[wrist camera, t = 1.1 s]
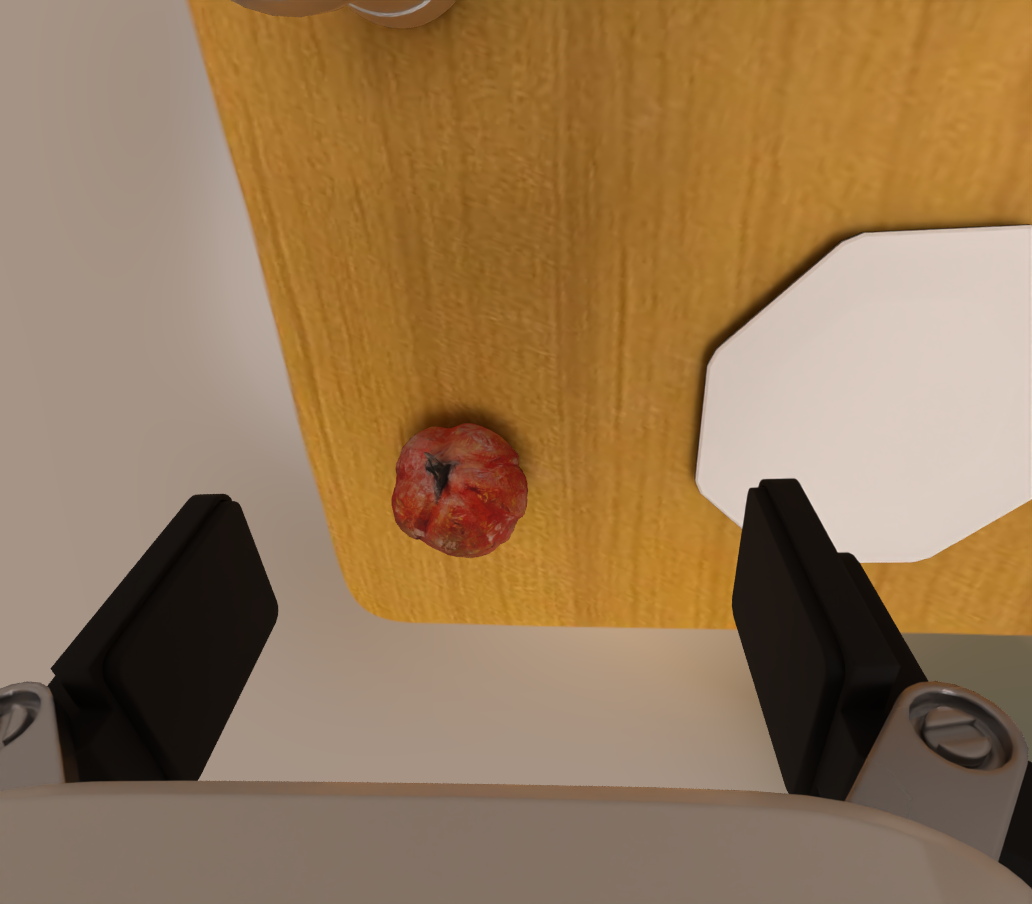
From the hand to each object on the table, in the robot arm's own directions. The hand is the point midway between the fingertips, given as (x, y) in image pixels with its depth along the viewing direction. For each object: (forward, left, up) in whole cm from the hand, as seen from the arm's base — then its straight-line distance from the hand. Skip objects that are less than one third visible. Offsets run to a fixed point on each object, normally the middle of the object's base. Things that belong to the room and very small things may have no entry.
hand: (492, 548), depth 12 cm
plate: (+10, +18, -23) cm, 31 cm away
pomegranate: (+12, -5, -23) cm, 27 cm away
